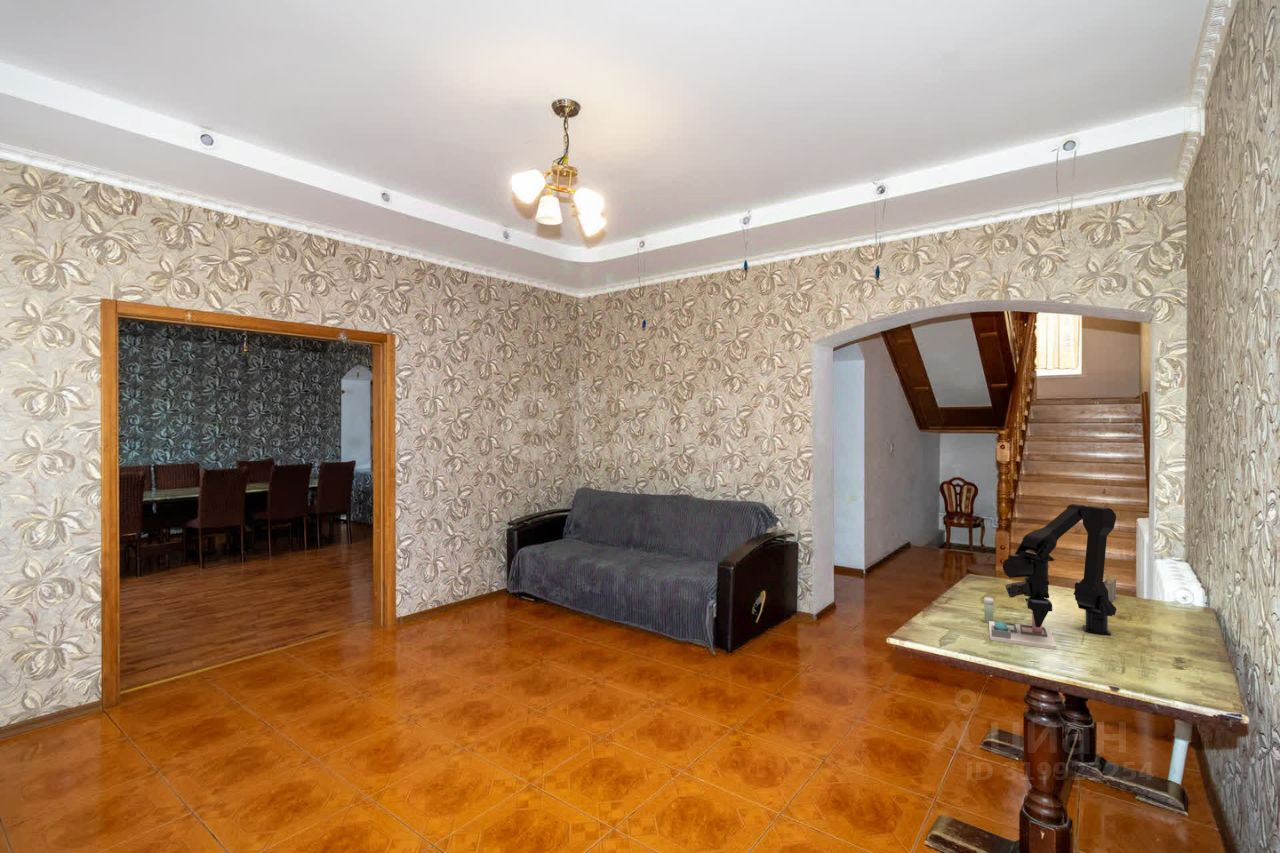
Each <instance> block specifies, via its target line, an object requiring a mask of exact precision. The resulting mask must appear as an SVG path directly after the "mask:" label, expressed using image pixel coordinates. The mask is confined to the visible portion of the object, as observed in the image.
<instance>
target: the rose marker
mask: <svg viewBox="0 0 1280 853" xmlns="http://www.w3.org/2000/svg"><path fill="white" fill-rule="evenodd" d="M1031 621H1032V622H1031V626H1032V633H1039V634H1042V627H1043V624H1042V625H1041V626H1040V627H1036V625H1035V621H1034V616H1033V611H1032V610H1031Z"/></svg>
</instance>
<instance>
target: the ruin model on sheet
mask: <svg viewBox="0 0 1280 853" xmlns="http://www.w3.org/2000/svg"><path fill="white" fill-rule="evenodd" d="M1104 574H1105V575H1106V579H1104V580H1103V582H1104V584H1105V586H1106V588H1107V590H1108V598H1109V601H1110V602H1111V603H1112V604H1113V602H1114V600H1116V599H1117V578H1116V576H1115V575H1113V574H1111V573H1109V572H1107V571H1105V572H1104ZM1115 595H1116V596H1115Z"/></svg>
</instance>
